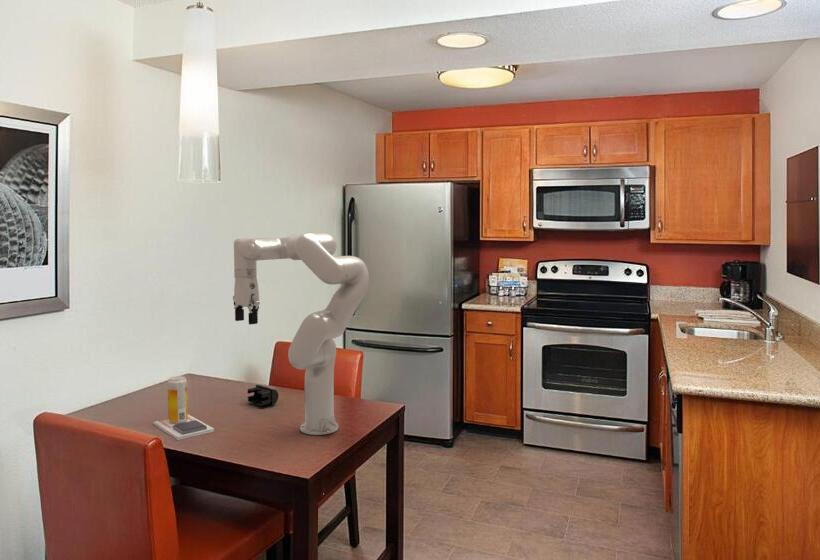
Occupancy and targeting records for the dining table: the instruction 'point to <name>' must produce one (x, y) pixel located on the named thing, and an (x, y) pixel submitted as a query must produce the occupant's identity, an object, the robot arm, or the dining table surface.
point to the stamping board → (184, 428)
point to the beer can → (177, 399)
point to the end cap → (262, 397)
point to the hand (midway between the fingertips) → (246, 322)
